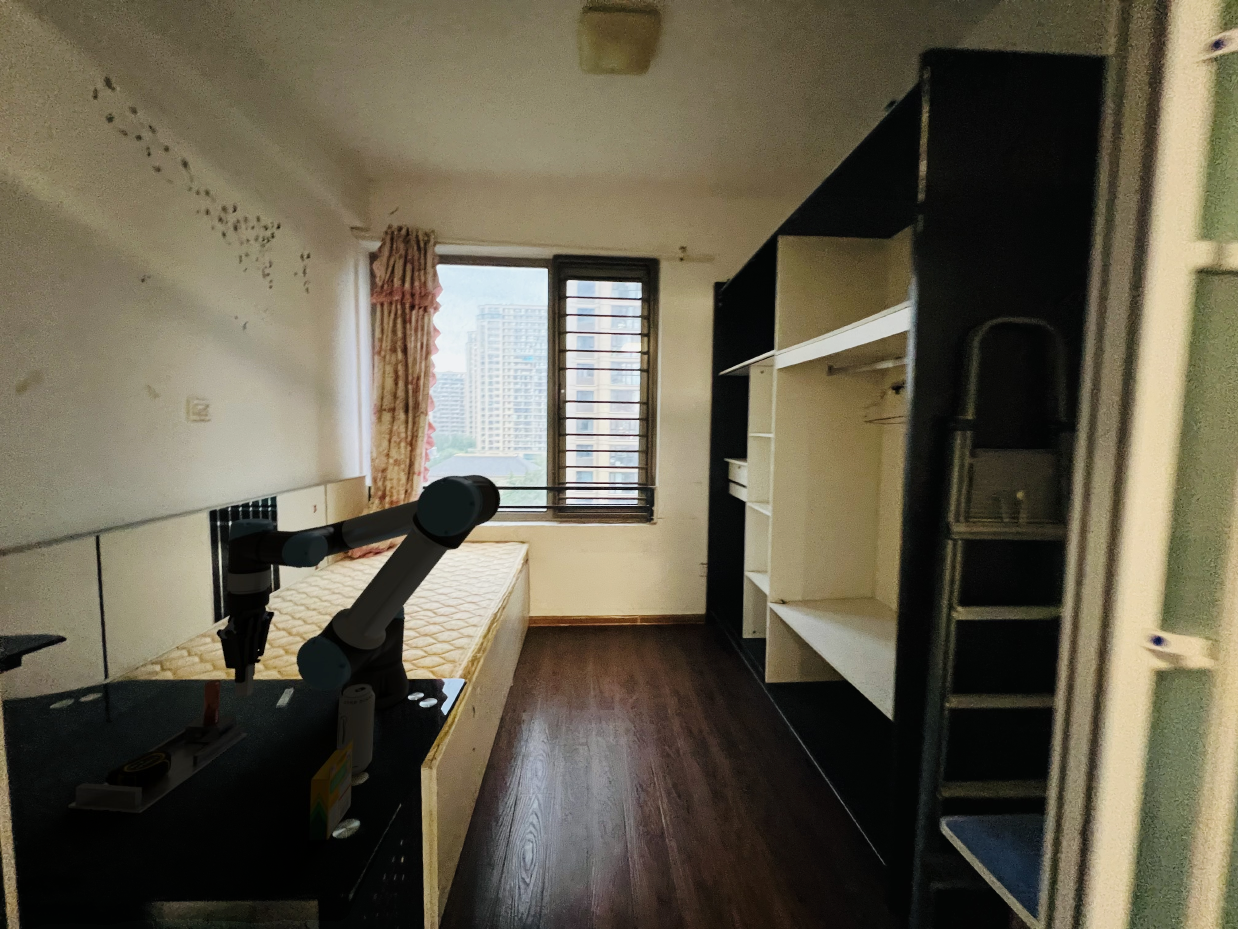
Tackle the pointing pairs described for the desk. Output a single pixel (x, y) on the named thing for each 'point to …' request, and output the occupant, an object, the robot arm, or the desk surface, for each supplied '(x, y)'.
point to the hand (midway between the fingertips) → (244, 694)
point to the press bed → (183, 765)
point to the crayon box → (330, 794)
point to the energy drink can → (357, 724)
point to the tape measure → (141, 770)
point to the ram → (210, 718)
